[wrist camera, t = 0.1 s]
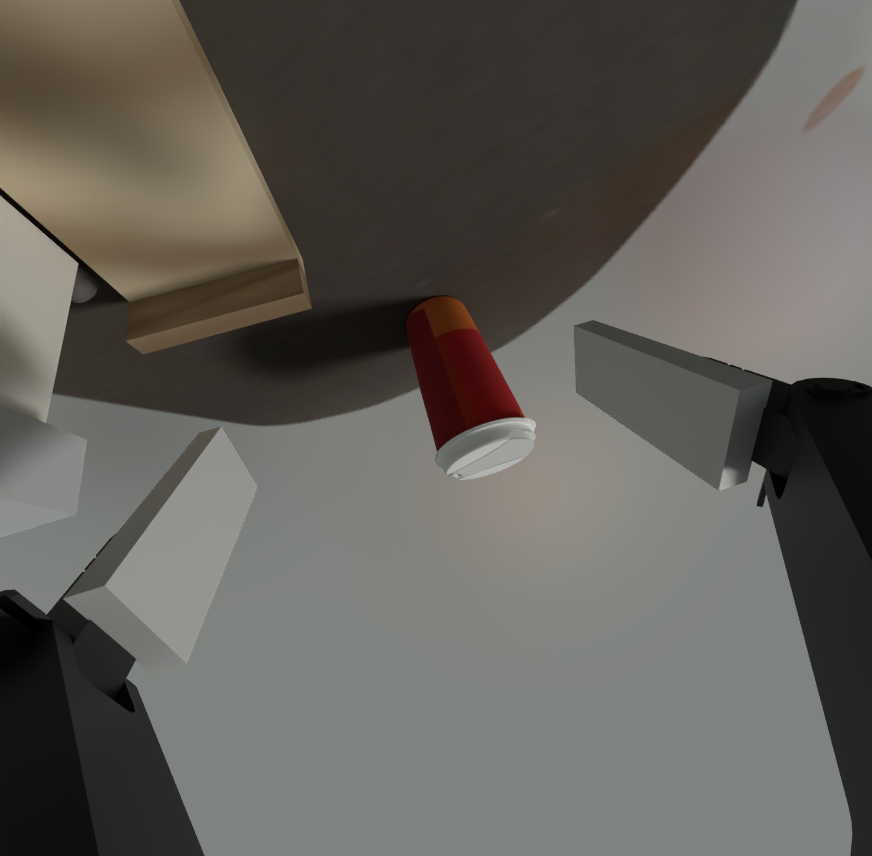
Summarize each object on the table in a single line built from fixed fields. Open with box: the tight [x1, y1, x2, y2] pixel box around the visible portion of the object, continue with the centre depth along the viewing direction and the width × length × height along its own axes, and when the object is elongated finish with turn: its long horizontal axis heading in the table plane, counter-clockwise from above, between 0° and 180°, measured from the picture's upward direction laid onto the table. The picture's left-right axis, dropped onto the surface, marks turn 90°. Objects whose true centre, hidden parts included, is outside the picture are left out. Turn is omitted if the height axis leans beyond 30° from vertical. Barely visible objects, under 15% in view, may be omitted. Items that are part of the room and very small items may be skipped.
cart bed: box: [0, 0, 312, 354], centre depth 12 cm, size 22×12×4 cm, turn 4°
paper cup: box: [406, 296, 536, 480], centre depth 29 cm, size 8×8×14 cm
